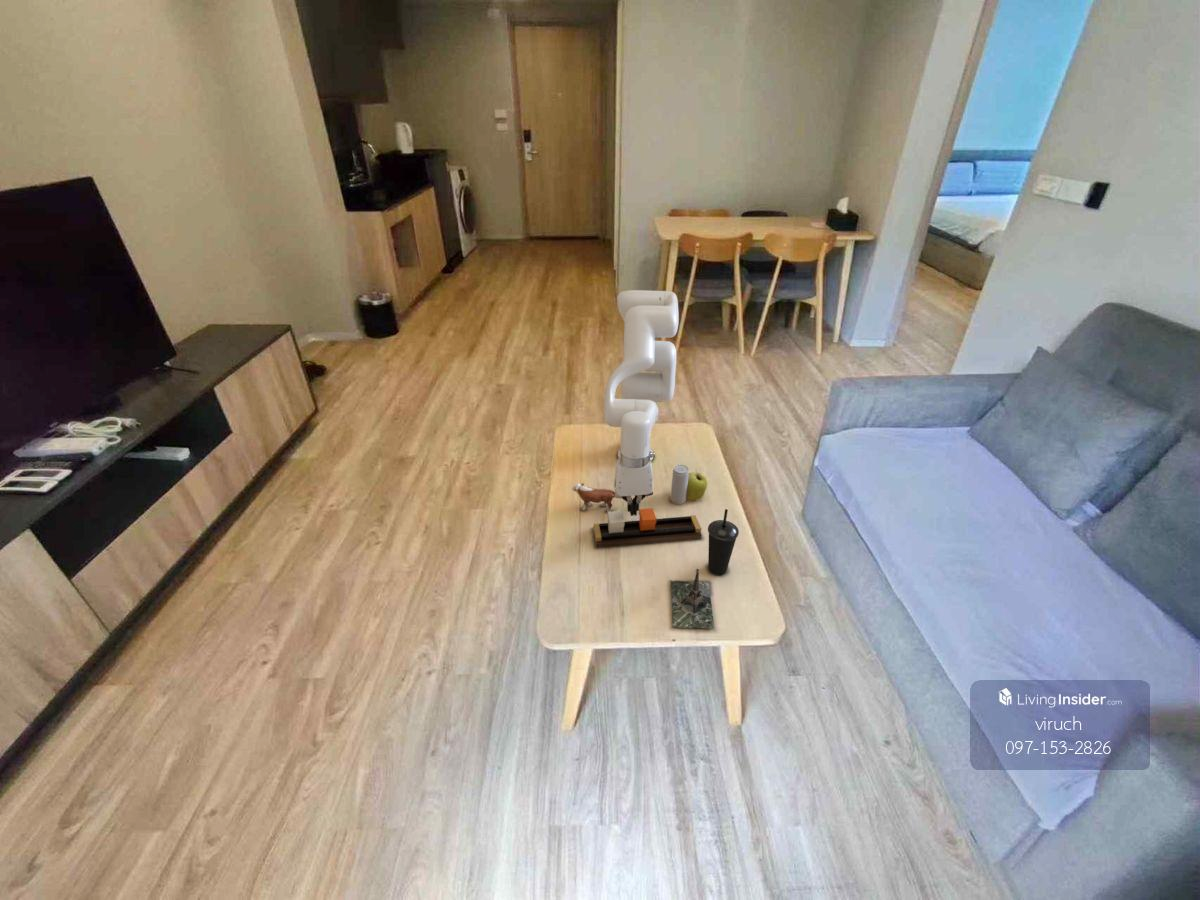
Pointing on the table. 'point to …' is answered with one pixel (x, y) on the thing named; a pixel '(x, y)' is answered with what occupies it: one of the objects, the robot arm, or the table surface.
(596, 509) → the table surface
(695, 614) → the eiffel tower figurine
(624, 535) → the rails
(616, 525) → the white boxy piece
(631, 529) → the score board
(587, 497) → the bull figurine
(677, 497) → the beverage can
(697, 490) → the apple
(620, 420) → the robot arm
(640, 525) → the orange rectangular block
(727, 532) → the drinking cup
